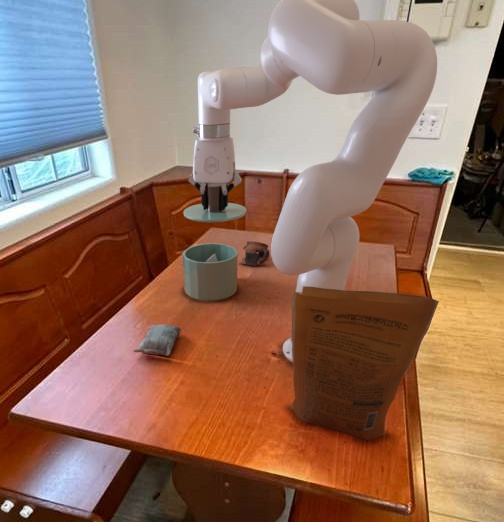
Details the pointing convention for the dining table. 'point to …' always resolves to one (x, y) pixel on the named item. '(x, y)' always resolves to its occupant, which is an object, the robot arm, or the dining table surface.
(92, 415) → the dining table surface
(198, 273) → the pot
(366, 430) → the pancake mix bag
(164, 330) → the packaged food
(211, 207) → the lid
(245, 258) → the pottery mug
